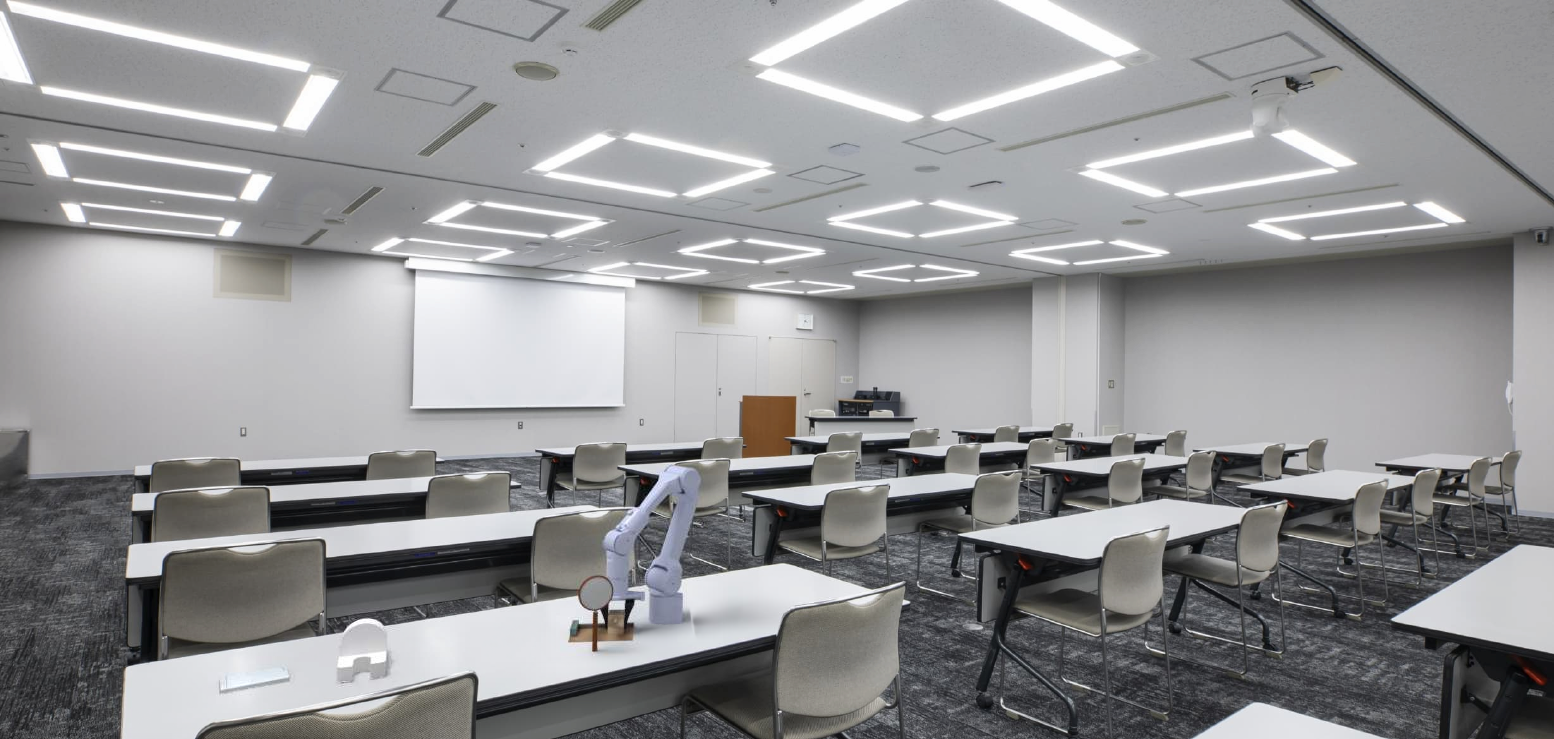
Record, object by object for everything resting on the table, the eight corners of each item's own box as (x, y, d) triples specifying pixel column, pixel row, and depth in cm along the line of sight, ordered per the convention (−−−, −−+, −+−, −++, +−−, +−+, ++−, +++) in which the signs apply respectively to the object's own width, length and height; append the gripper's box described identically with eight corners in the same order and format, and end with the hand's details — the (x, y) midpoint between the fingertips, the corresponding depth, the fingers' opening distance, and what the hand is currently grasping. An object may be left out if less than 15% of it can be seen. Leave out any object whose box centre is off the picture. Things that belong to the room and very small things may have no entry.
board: (633, 631, 206) (634, 618, 206) (632, 646, 196) (632, 632, 196) (572, 633, 204) (573, 619, 204) (567, 648, 193) (568, 634, 193)
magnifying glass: (577, 660, 185) (579, 577, 185) (575, 658, 187) (577, 576, 187) (612, 655, 189) (614, 574, 189) (610, 653, 191) (612, 572, 191)
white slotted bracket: (336, 684, 169) (337, 635, 169) (342, 656, 185) (343, 611, 185) (385, 678, 173) (386, 630, 173) (387, 651, 189) (388, 607, 189)
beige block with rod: (624, 625, 207) (625, 606, 207) (622, 637, 197) (623, 618, 197) (609, 625, 206) (609, 607, 206) (607, 638, 197) (607, 618, 197)
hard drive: (286, 664, 176) (219, 676, 168) (289, 676, 169) (220, 689, 162) (286, 671, 176) (219, 683, 168) (289, 684, 169) (219, 696, 162)
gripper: (587, 581, 197) (586, 633, 197) (645, 580, 199) (643, 632, 199) (590, 573, 204) (588, 624, 204) (645, 572, 206) (644, 623, 206)
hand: (616, 628), depth 202 cm, fingers closed on beige block with rod, 4 cm apart
